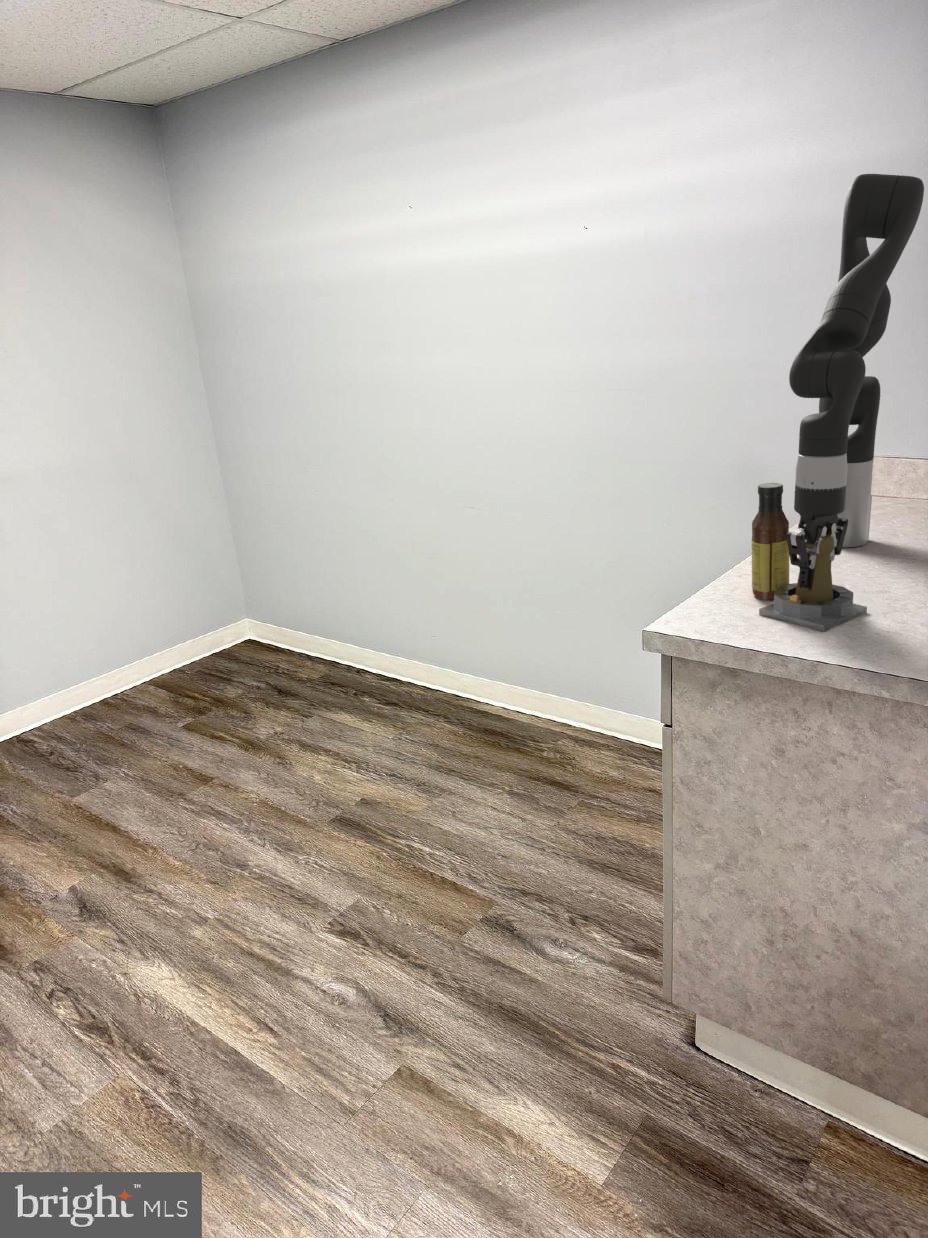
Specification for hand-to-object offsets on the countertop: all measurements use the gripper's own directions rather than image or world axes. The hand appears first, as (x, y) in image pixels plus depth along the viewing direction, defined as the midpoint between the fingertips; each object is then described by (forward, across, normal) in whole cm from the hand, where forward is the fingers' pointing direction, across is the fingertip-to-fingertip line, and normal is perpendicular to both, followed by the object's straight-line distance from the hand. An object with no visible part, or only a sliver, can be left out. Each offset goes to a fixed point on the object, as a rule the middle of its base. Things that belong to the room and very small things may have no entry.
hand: (814, 585), depth 147 cm
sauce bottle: (+5, +3, +11) cm, 12 cm away
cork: (+2, 0, 0) cm, 2 cm away
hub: (+5, 0, 0) cm, 5 cm away
